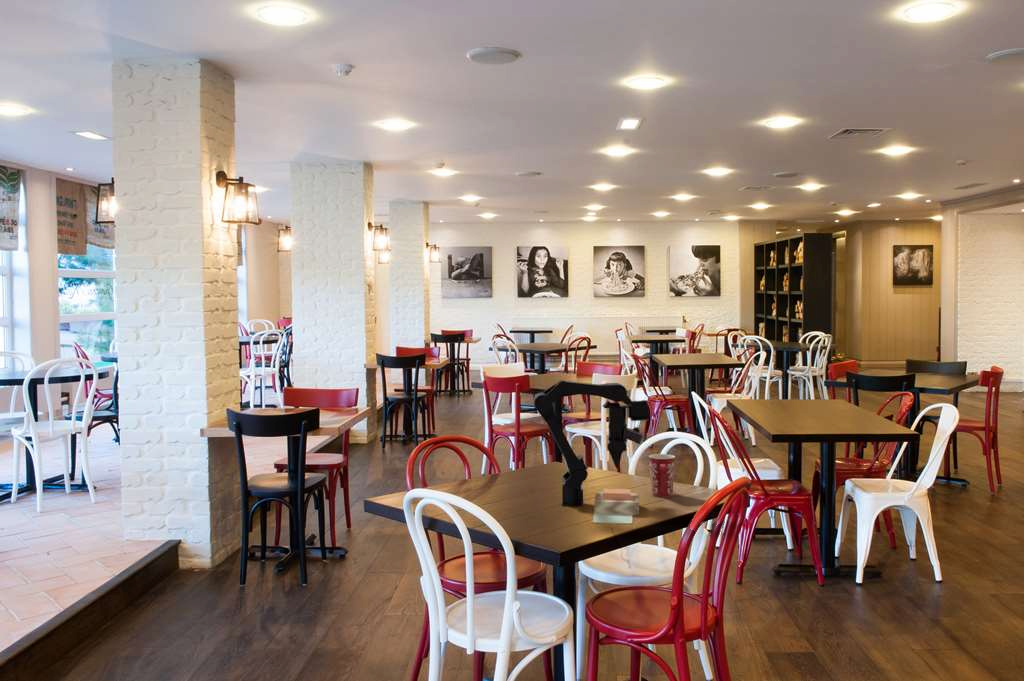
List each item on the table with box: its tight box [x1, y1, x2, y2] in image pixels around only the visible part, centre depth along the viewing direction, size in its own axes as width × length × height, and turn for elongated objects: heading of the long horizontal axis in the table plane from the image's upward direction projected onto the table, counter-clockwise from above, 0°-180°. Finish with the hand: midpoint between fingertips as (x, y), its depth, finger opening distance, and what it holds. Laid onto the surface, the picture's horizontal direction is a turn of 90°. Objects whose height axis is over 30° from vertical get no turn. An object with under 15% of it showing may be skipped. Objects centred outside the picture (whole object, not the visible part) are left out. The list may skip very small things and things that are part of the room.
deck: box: [593, 491, 640, 516], centre depth 272 cm, size 14×12×4 cm
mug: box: [648, 453, 676, 498], centre depth 289 cm, size 13×9×14 cm
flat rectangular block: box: [602, 488, 632, 500], centre depth 272 cm, size 9×6×2 cm, turn 82°
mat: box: [592, 513, 634, 525], centre depth 261 cm, size 12×11×1 cm
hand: (617, 467), depth 280 cm, fingers closed
